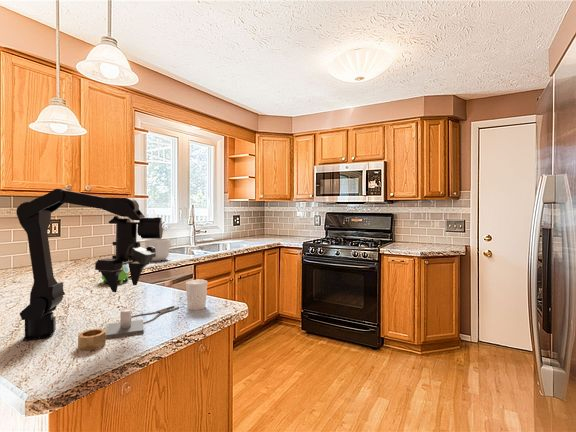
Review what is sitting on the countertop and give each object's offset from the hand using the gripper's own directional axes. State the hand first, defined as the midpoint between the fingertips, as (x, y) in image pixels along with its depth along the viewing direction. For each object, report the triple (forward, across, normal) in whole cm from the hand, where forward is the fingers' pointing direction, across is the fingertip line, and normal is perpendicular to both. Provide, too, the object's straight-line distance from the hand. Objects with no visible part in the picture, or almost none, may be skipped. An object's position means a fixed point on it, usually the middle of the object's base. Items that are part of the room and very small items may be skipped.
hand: (125, 288), depth 99 cm
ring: (+13, -11, +1) cm, 17 cm away
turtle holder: (+14, +58, +50) cm, 78 cm away
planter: (+14, +123, +68) cm, 141 cm away
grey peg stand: (+13, 0, 0) cm, 13 cm away
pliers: (+14, +16, +1) cm, 21 cm away
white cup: (+13, +27, -11) cm, 32 cm away
